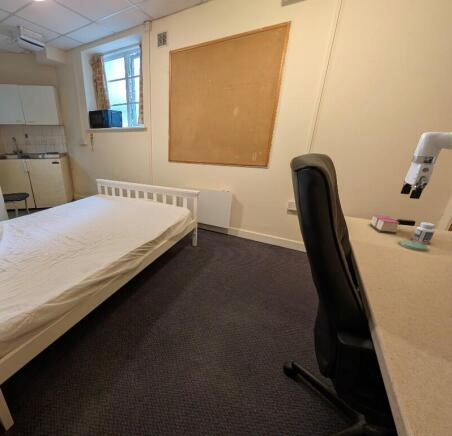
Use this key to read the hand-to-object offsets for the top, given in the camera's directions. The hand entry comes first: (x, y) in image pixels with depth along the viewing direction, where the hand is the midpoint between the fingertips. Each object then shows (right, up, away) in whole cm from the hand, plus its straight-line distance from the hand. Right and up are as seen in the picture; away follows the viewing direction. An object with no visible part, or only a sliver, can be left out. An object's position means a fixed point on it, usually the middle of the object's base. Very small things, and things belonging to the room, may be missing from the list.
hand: (409, 196), depth 108 cm
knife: (-2, -16, +6) cm, 17 cm away
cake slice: (-5, -15, +10) cm, 18 cm away
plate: (-10, -23, -10) cm, 27 cm away
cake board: (-6, -17, +8) cm, 19 cm away
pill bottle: (-1, -22, -6) cm, 23 cm away
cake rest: (-7, -17, +5) cm, 19 cm away
